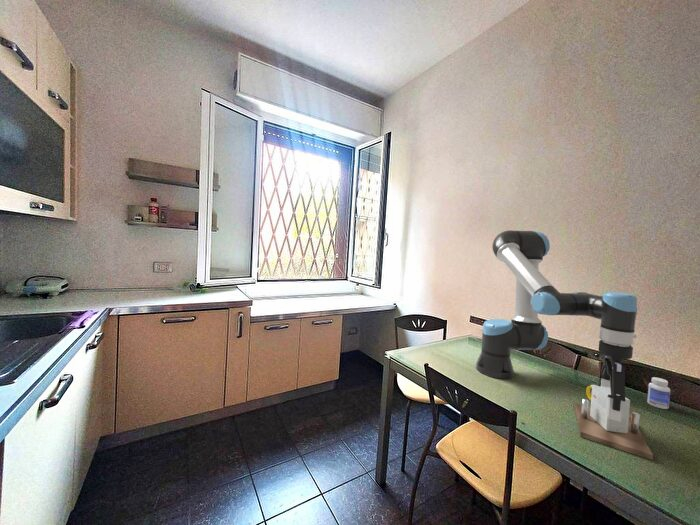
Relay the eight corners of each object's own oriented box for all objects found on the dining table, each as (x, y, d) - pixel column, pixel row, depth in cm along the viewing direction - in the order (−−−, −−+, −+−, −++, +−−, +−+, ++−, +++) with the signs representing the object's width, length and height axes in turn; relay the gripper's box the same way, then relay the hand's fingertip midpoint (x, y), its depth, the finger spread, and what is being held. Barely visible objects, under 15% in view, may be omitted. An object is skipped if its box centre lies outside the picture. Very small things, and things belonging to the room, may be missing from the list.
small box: (628, 434, 82) (631, 400, 81) (606, 431, 83) (609, 397, 82) (608, 418, 90) (611, 387, 89) (589, 415, 91) (591, 384, 90)
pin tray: (580, 436, 82) (582, 412, 82) (574, 406, 99) (575, 385, 98) (652, 460, 74) (655, 433, 73) (632, 422, 90) (634, 400, 90)
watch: (605, 406, 100) (607, 391, 99) (597, 406, 99) (600, 391, 99) (590, 396, 105) (592, 382, 105) (583, 396, 105) (585, 382, 105)
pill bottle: (672, 411, 98) (675, 384, 97) (652, 407, 100) (655, 381, 99) (661, 402, 103) (664, 377, 102) (643, 399, 105) (645, 375, 104)
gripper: (645, 358, 72) (637, 435, 73) (623, 335, 93) (617, 395, 94) (606, 351, 76) (600, 424, 78) (593, 330, 97) (588, 388, 98)
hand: (609, 408), depth 86 cm, fingers open, 13 cm apart
